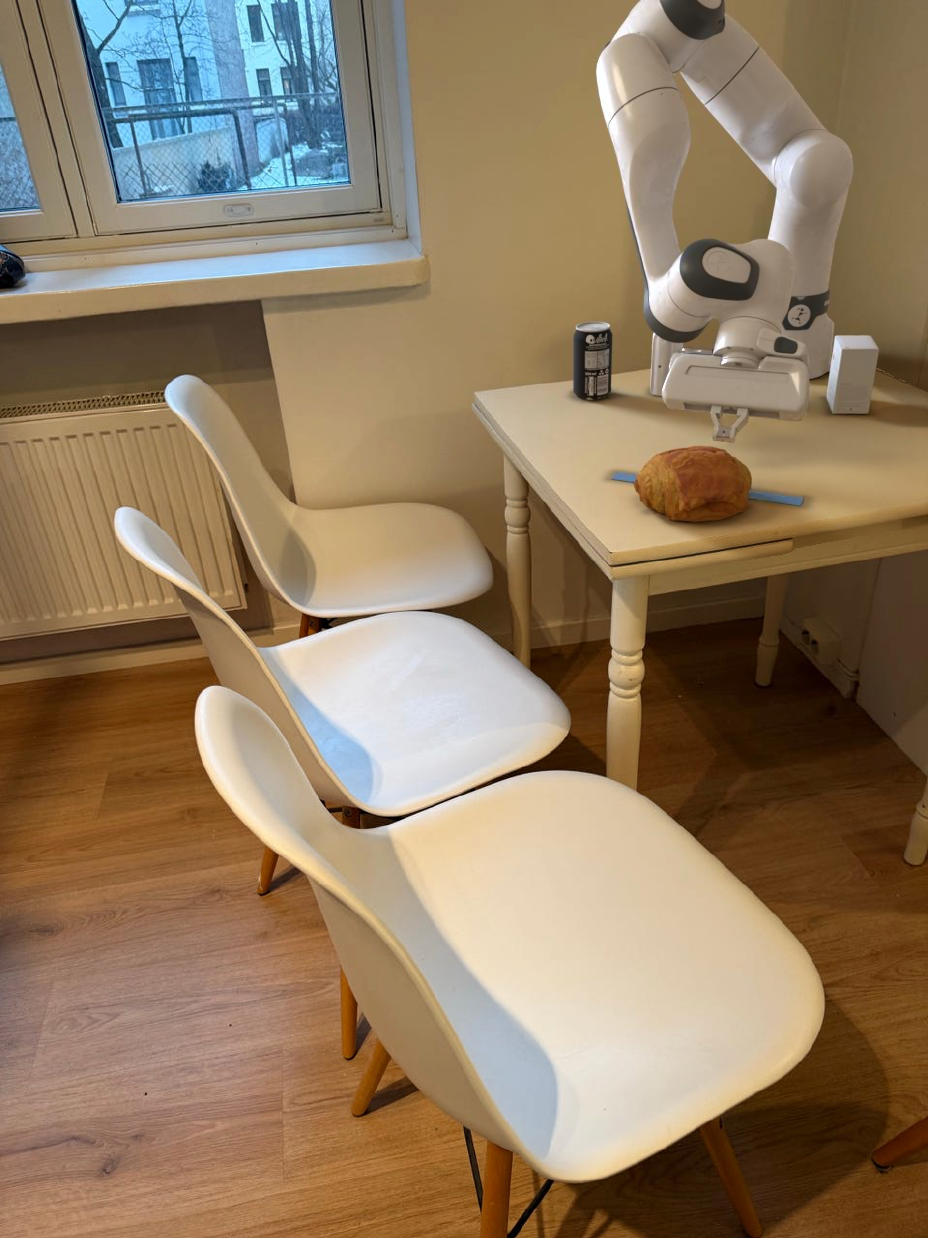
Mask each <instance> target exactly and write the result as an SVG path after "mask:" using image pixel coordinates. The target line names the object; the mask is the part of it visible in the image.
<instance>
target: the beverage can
mask: <svg viewBox="0 0 928 1238" xmlns="http://www.w3.org/2000/svg"><path fill="white" fill-rule="evenodd" d="M610 328H611V324H609V323H608V322H605V321H585V322H580V323H578V324H576V326H575V331H574V333H573V344H572V345H573V348H572V349H573V350H572V351H573V352H572V353H573V355H572V356H573V357H572V358H573V359H572V360H573V363H572V365H573V367H572V368H573V369H572V371H573V373H572V374H573V377H572V379H573V381H572V382H573V383H572V384H573V386H572V390H573V393H574V394H575V396H576V397H577V398H579V399H581V400H588V401H594V400H595V401H596V400H601V399H604V398H606V397H607V396H609V394H610V393H611V392H612V369H613V365H612V364H613V332H612V331H611V329H610Z"/></svg>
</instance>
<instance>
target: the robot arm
mask: <svg viewBox="0 0 928 1238" xmlns="http://www.w3.org/2000/svg"><path fill="white" fill-rule="evenodd" d="M595 70H596V71H595V75H596V83H597V90H598V91H597V92H598V96H599V101H600V105H601V110H602V114H603V118H604V121H605V124H606V127H607V130H608V134H609V136H610V139H611V143H612V147H613V149H614V153H615V156H616V160H617V164H618V168H619V172H620V178H621V183H622V188H623V192H624V201H625V207H626V212H627V217H628V221H629V226H630V230H631V234H632V238H633V242H634V246H635V250H636V254H637V258H638V262H639V266H640V270H641V274H642V279H643V285H644V294H643V315H644V316H643V317H644V319H645V322H646V324H647V326H648V328H649V329H650V330H651V331H652V332H653V334H654V333H655V334H656V335H657V336H659V337H660V338H662V339H664V340H666V341H669V342H673V343H683V344H686V343H689V342H691V341H693V340H695V339H697V338H698V337H699V336H700V335H701V334H702V332H704V330H705V329H706V327H707V326H708V325H709V324H710V322H711V321H712V320H713V319H715V320H716V321H718V323H719V328H718V331H717V336H716V340H715V343H714V348H705V347H702V348H699V347H698V348H695V347H692V346H691V347H690V346H686V347H683V350H679V351H677V352H675V353H674V354H673V355H672V357H671V360H670V364H669V373H668V376H667V378H666V381H665V383H664V386H663V390H662V396H661V397H662V400H663V402H664V404H665V406H666V408H668V409H671V410H679V411H680V410H681V411H689V412H690V411H691V412H702V413H709V414H710V417H711V421H712V423H713V426H714V428H713V431H712V440H713V442H719V443H720V442H722V443H730V444H735V442H736V438H737V435H738V433H739V432H740V431H741V430H743V428H744V427H745V426H746V425H747V424H748V423H749V419H750V417H751V418H762V419H770V420H771V419H772V420H780V421H781V420H782V421H791V422H799V421H801V420H803V419H804V418H805V417H806V416H807V413H808V409H809V403H810V402H809V401H810V380H812V379H816V378H818V377H821V376H824V375H825V374H826V373H828V372H830V368H831V361H832V354H833V345H834V331H835V322H834V321H833V319H831V318H830V317H829V316H828V314H827V312H828V311H829V305H830V303H831V289H830V288H829V284H830V278H831V272H832V265H833V257H834V250H835V244H836V240H837V236H838V232H839V228H840V225H841V222H842V218H843V214H844V210H845V206H846V203H847V199H848V194H849V189H850V186H851V184H852V180H853V176H854V159H853V154H852V152H851V148H850V147H849V145H848V144H847V143H846V141H844V140H843V139H842V138H841V137H839V136H837V135H835V134H833V133H832V132H831V131H829V129H827V128H826V127H825V126H824V124H823V123H822V122H821V121H820V119H819V118H818V117H817V116H816V114H815V113H814V111H813V110H811V108H810V106H809V105H808V104H807V103H806V102H805V100H804V99H803V97H802V96H801V95H800V93H799V92H798V90H797V89H796V88H795V86H794V85H793V83H792V82H791V81H790V79H789V78H788V77H787V76H786V75H785V74H784V72H783V71H782V70H781V68H779V67H778V66H777V64H776V63H775V62H774V61H773V59H772V58H771V57H770V55H768V54H767V52H766V51H765V50H764V49H763V48H762V46H761V45H760V44H759V43H758V41H757V40H756V39H755V38H754V37H753V36H752V34H750V33H749V31H747V30H746V29H745V28H744V27H743V26H742V25H741V24H740V23H739V22H738V21H737V20H736V19H734V18H733V17H732V16H731V15H729V14H728V13H727V12H726V1H725V0H639V1H638V2H637V3H636V4H635V6H634V7H633V8H631V10H630V12H629V14H628V16H627V17H626V19H624V21H623V23H621V26H620V27H619V28H618V30H617V32H616V33H615V34H614V36H613V37H612V39H611V40H609V41H607V43H606V44H605V46H604V48H603V49H602V51H601V53H600V55H599V58H598V60H597V63H596V69H595ZM679 73H680V74H681V77H682V78H683V80H684V81H685V82H686V84H687V85H688V88H689V89H690V90H691V91H692V92H693V94H694V95H695V96H696V97H697V99H698V100H699V101H700V102H701V104H702V105H703V106H704V107H705V108H706V109H707V111H708V112H709V113H710V114H711V115H712V116H713V118H715V120H716V121H717V122H718V123H719V124H720V125H721V126H722V128H723V129H724V130H725V131H726V132H727V133H728V135H729V136H730V137H731V138H732V139H733V140H734V141H735V142H736V144H737V145H738V146H739V147H740V148H741V149H742V150H743V152H744V153H745V154H746V155H747V156H748V157H749V158H750V160H751V161H752V162H753V163H754V164H755V166H757V168H758V169H759V170H760V171H761V172H762V173H763V174H764V176H765V177H766V178H767V180H769V182H770V183H771V184H772V185H773V186H774V187H775V188H776V195H775V200H774V201H775V202H774V207H773V213H772V218H771V223H770V228H769V232H768V236H767V238H757V239H753V240H751V241H748V242H745V243H727V242H724V241H722V240H720V239H716V238H700V239H697V240H696V241H693V242H690V244H688V246H687V247H685V249H684V250H683V251H681V249H680V244H679V240H678V236H677V232H676V228H675V224H674V220H673V219H674V217H673V208H674V199H675V195H676V190H677V187H678V184H679V181H680V176H681V174H682V171H683V169H684V167H685V163H686V160H687V158H688V155H689V153H690V152H689V151H690V148H691V143H692V135H691V126H690V119H689V113H688V110H687V107H686V104H685V101H684V97H683V96H682V93H681V90H680V88H679V84H678V82H677V80H676V76H677V75H678V74H679ZM682 352H683V353H682ZM724 415H732V416H736V418H737V419H736V420H735V421H734V422H733V423H732V425H731V426H728V425H721V424H720V422H719V421H722V419H723V416H724Z"/></svg>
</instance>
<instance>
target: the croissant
mask: <svg viewBox="0 0 928 1238" xmlns="http://www.w3.org/2000/svg"><path fill="white" fill-rule="evenodd" d="M636 475H637V476H636V479H635V482H633V488H634V490H635V492H636V493H637V494H638V497H639V502H641V503H643V505H645V506H646V507H648V509H649V510H652V509H653V510H655V511H656V512H657V513H660V514H664V517H665V518H666V519H667V520H671V521H681V522H692V523H696V522H707V521H721V520H724V519H726V518H729V517H733V516H735V515H737V514H739V513H742V512H745V511H746V510H748V509H749V508H750V506H749V500H750V499H749V493H750V491H752V485H753V476H752V473H751V471H750V468H748V466H747V465H746V464H744V463H743V462H742V461H741V460H739V459H738V458H737V457H736V456H732V454H730V453H729V452H728V451H727V450H726V449H723V448H719V447H717V446H711V445H692V446H688V447H678V448H673V449H669V450H666V451H663V452H660V453H656V454H654V456H652V457H651V458H650V459H649V460H648V461H647V462H646V463H645V464H644V465H643V467H642V469H641V470H640V471H639V472H638V473H637V474H636Z"/></svg>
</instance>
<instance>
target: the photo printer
mask: <svg viewBox="0 0 928 1238" xmlns="http://www.w3.org/2000/svg"><path fill="white" fill-rule="evenodd" d="M651 343H652V344H651V365H650V383H649V384H650V385H649V390H650V394H652V395H653V396H656V397H657V396H658V397H662V390H663V386H664V383H665V381H666V378H667V376H668V373H669V364H670V360H671V357H672V355H673V354H674V353H675V352H677V351H679V350H683V348H684V343H673V342H669V341H666V340H664V339H662V338H660V337H659V336H657V335H656V334H655V333H654V332H653V334H652V342H651ZM682 353H683V352H682Z"/></svg>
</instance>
